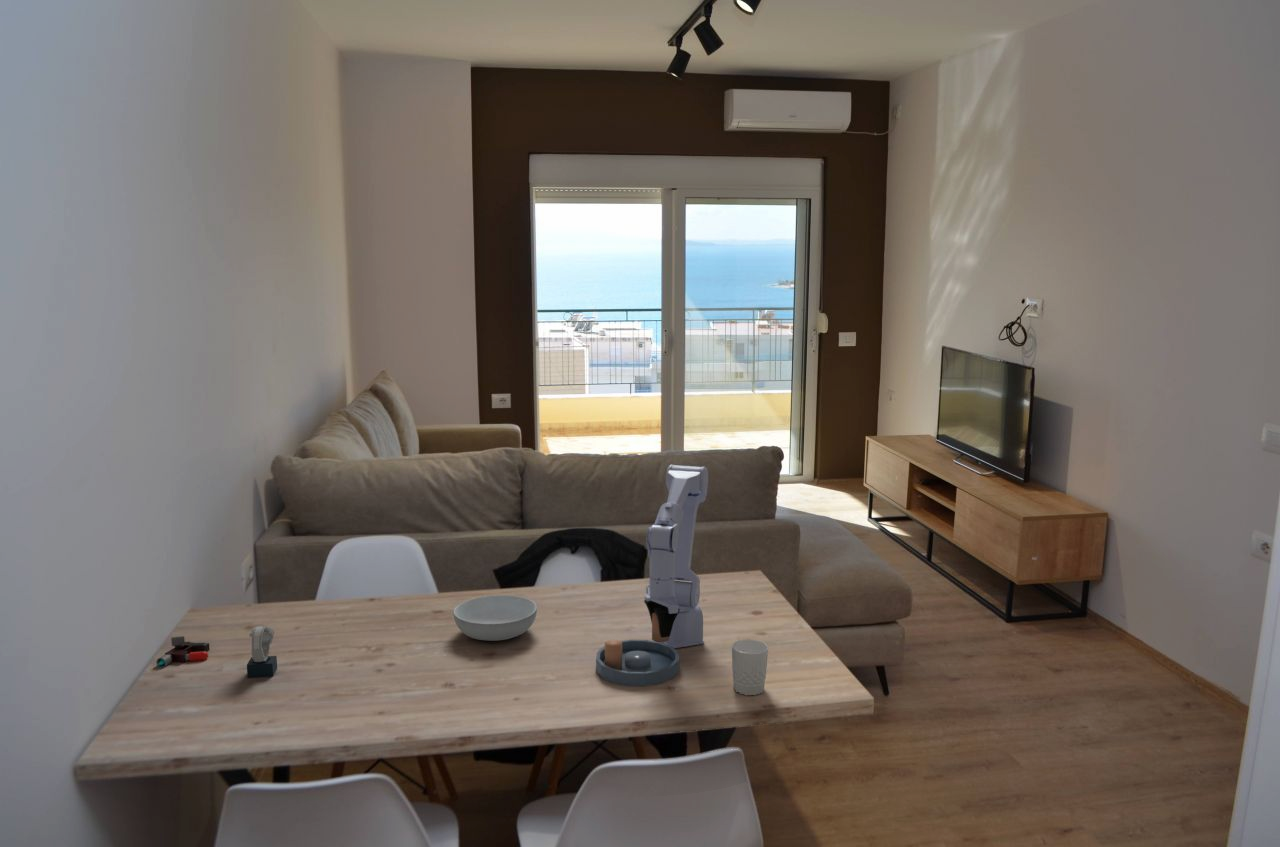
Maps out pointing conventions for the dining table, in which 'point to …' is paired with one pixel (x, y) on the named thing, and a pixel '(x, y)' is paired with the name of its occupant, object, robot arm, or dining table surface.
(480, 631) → the serving bowl
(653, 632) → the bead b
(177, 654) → the toy gun
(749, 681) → the grey cup
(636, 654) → the ring tray
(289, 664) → the dining table surface
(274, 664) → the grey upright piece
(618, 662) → the tan wooden cylinder
